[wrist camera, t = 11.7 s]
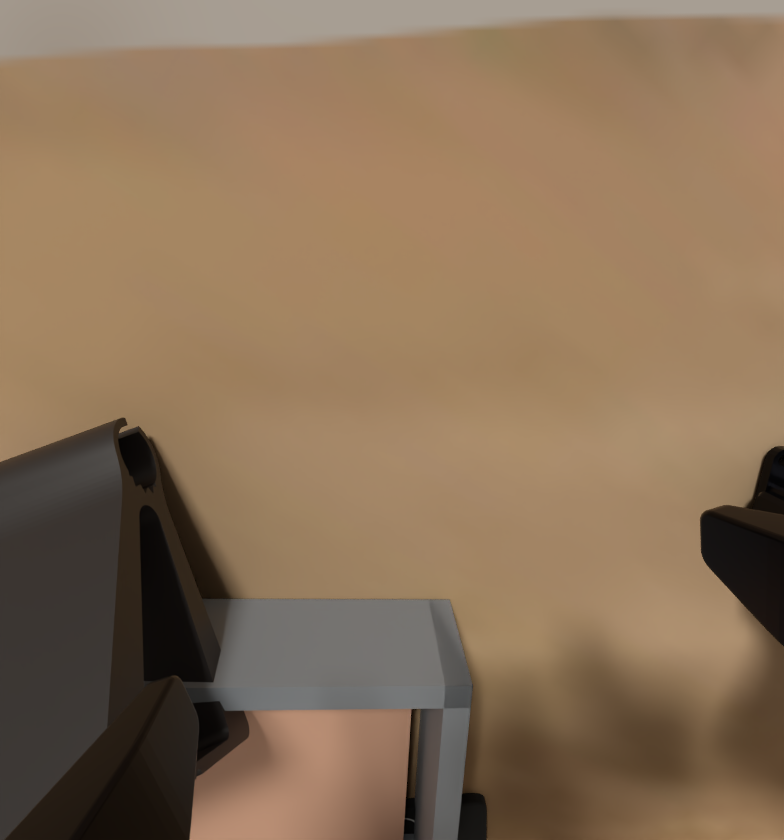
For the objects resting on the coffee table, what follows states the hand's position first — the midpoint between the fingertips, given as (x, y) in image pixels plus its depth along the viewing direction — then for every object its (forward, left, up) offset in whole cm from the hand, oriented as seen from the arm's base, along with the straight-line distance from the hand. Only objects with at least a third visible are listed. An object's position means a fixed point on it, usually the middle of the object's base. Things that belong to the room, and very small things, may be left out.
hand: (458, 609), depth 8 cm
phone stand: (+9, +10, -4) cm, 14 cm away
